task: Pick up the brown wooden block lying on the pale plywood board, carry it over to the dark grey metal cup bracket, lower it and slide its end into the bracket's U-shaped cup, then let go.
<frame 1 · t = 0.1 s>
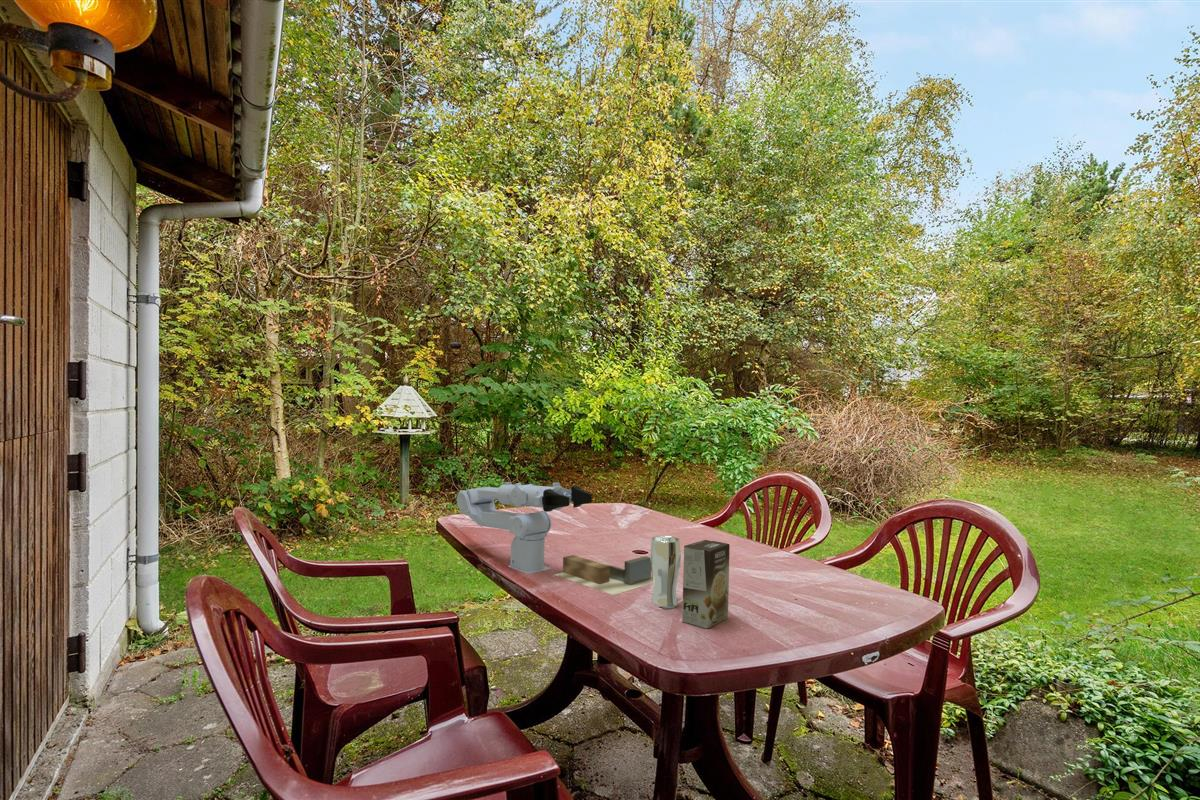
hand: (579, 499, 146), 22 cm above the table, tool horizontal, fingers open, 7 cm apart
coffee box: (705, 620, 124), on the table
board: (607, 579, 152), on the table
brown wooden block: (585, 576, 152), point 1 cm above the table, touching board
bracket: (626, 577, 152), resting on board
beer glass: (664, 605, 134), on the table
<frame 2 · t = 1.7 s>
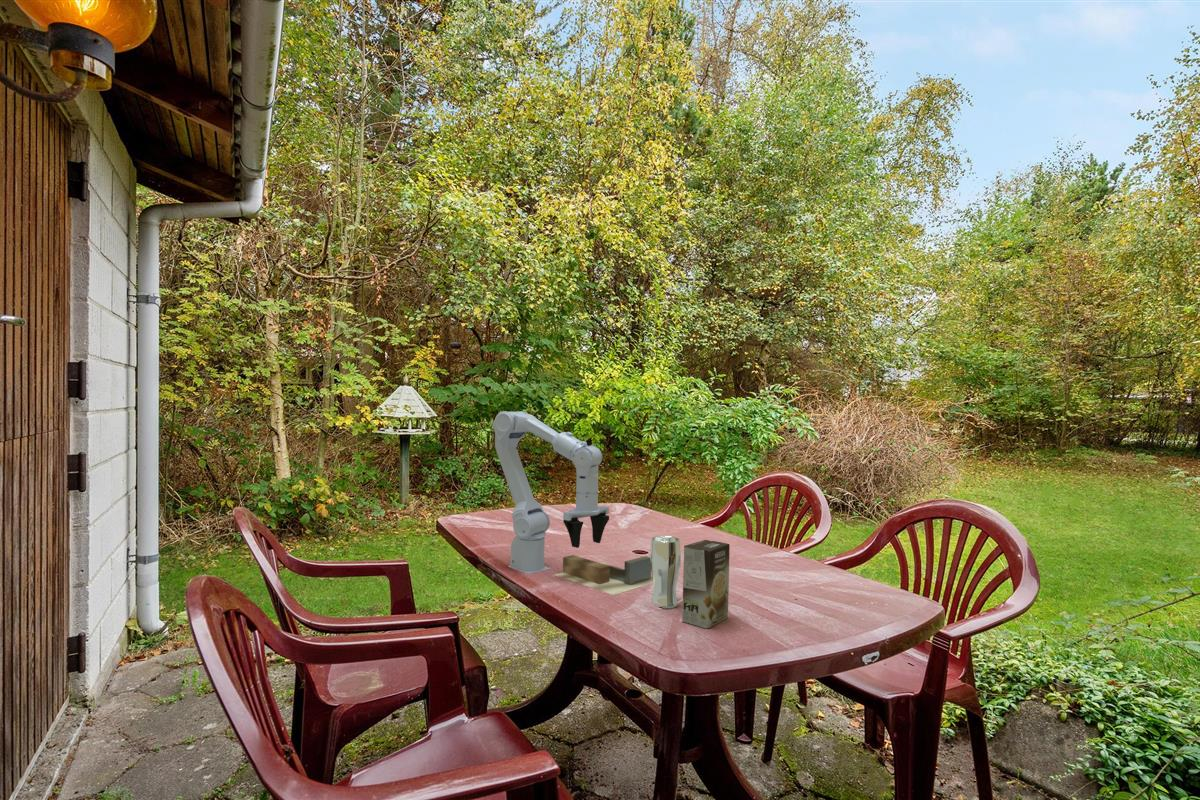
hand: (586, 544, 152), 9 cm above the table, tool pointing down, fingers open, 7 cm apart
nothing on the table moved.
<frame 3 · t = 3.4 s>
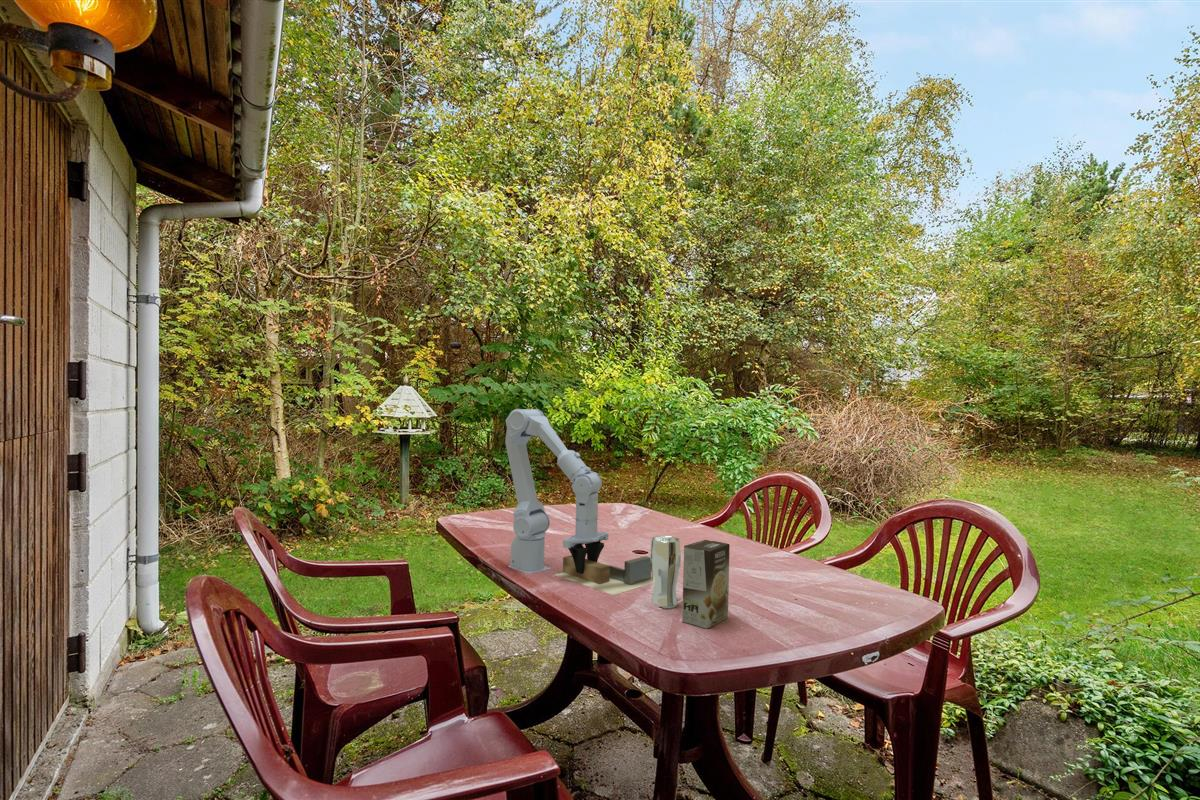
hand: (585, 571, 152), 2 cm above the table, tool pointing down, fingers closed on brown wooden block, 3 cm apart
brown wooden block: (585, 576, 152), point 1 cm above the table, touching board, gripper
everything else where it was.
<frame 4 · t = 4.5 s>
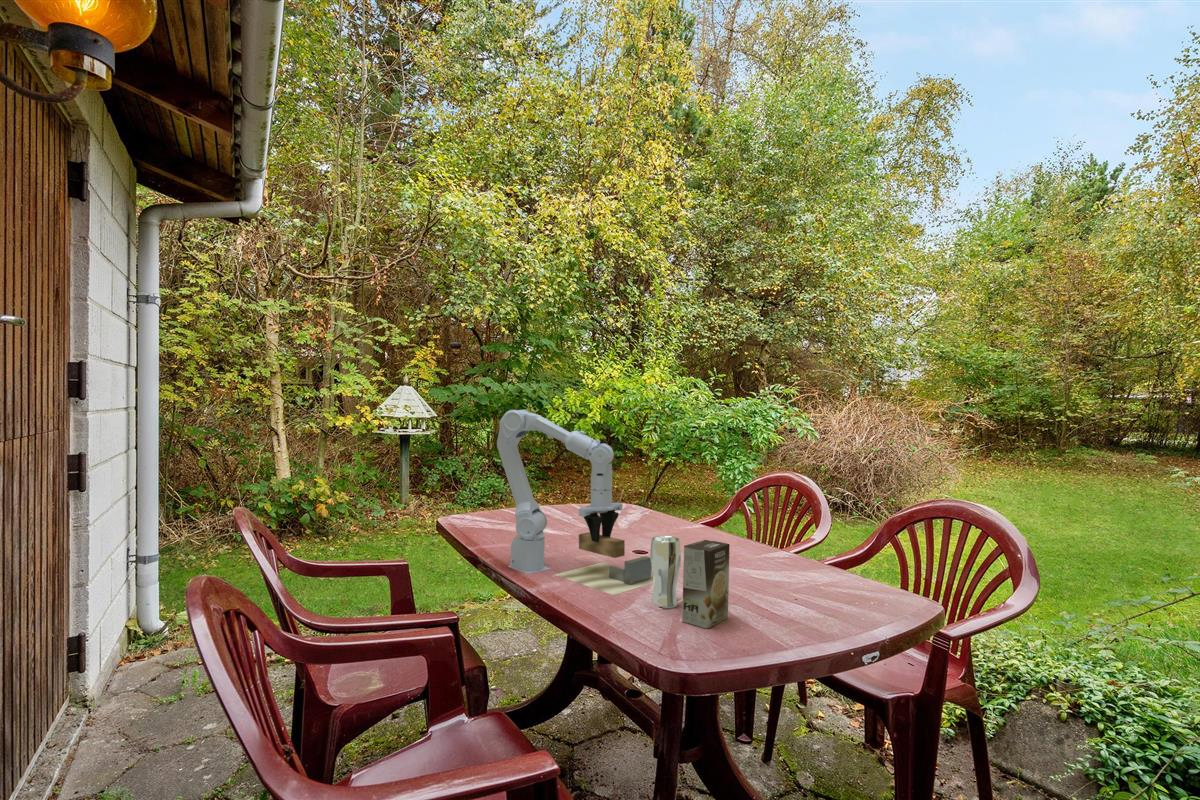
hand: (600, 540, 156), 9 cm above the table, tool pointing down, fingers closed on brown wooden block, 3 cm apart
brown wooden block: (601, 552, 156), point 6 cm above the table, touching gripper
everything else where it was.
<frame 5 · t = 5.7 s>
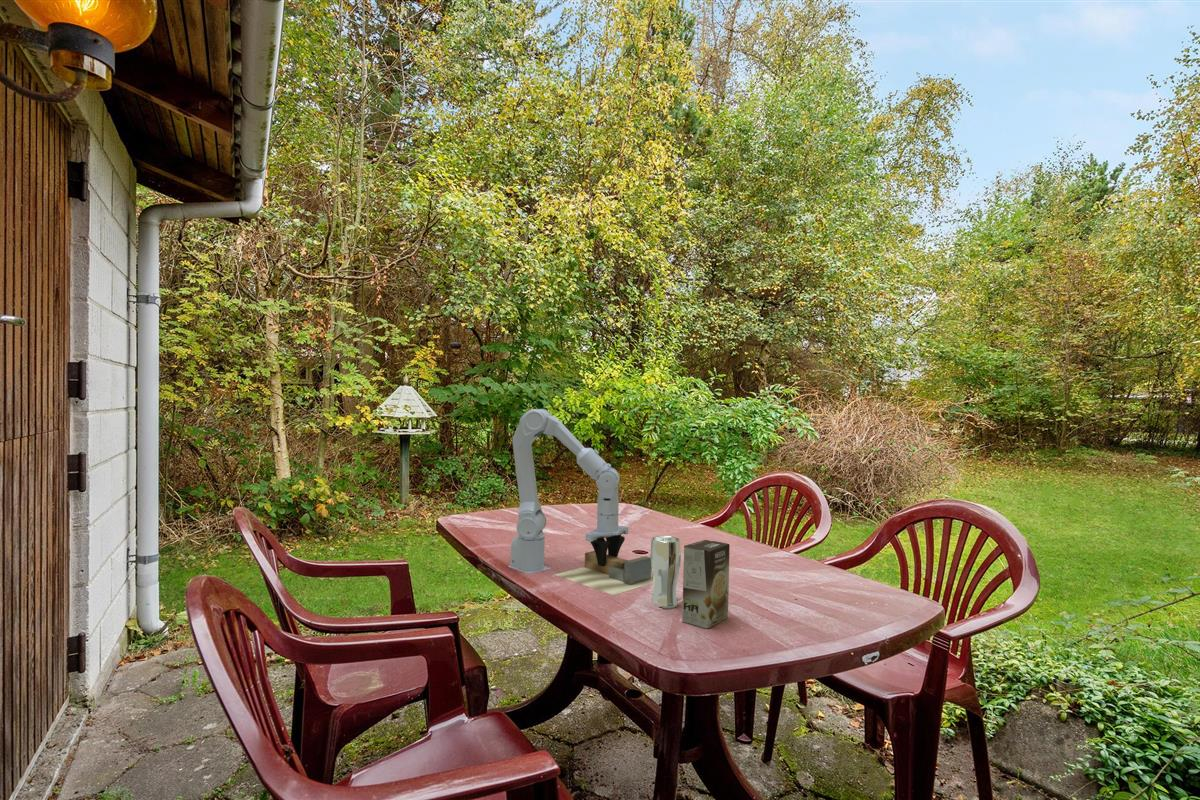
hand: (606, 564, 157), 3 cm above the table, tool pointing down, fingers closed on brown wooden block, 3 cm apart
brown wooden block: (607, 571, 157), point 1 cm above the table, touching gripper
everything else where it was.
when the fingers open (3 cm above the table, at t = 7.1 s): brown wooden block stays where it is, resting on board.
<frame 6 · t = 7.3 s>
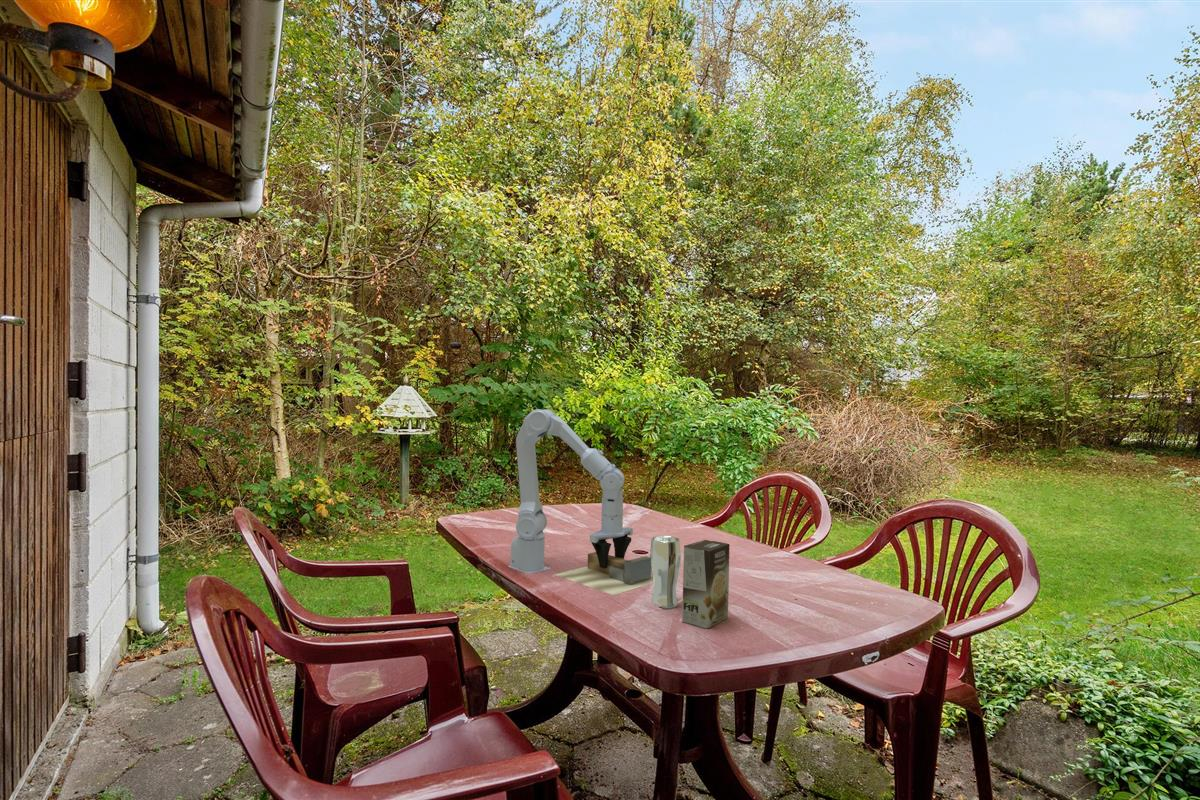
hand: (611, 565, 156), 3 cm above the table, tool pointing down, fingers open, 5 cm apart
brown wooden block: (610, 572, 156), point 1 cm above the table, touching board
everything else where it was.
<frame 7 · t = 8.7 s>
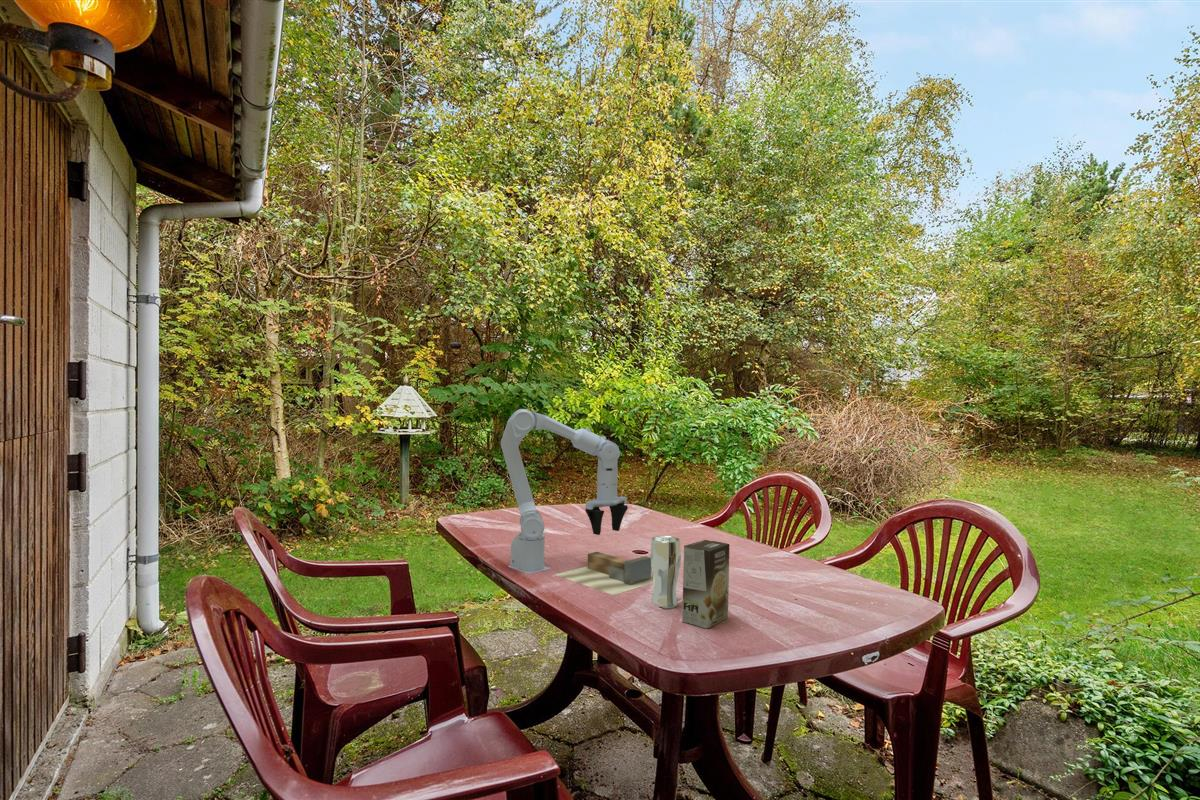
hand: (606, 532, 163), 10 cm above the table, tool pointing down, fingers open, 7 cm apart
nothing on the table moved.
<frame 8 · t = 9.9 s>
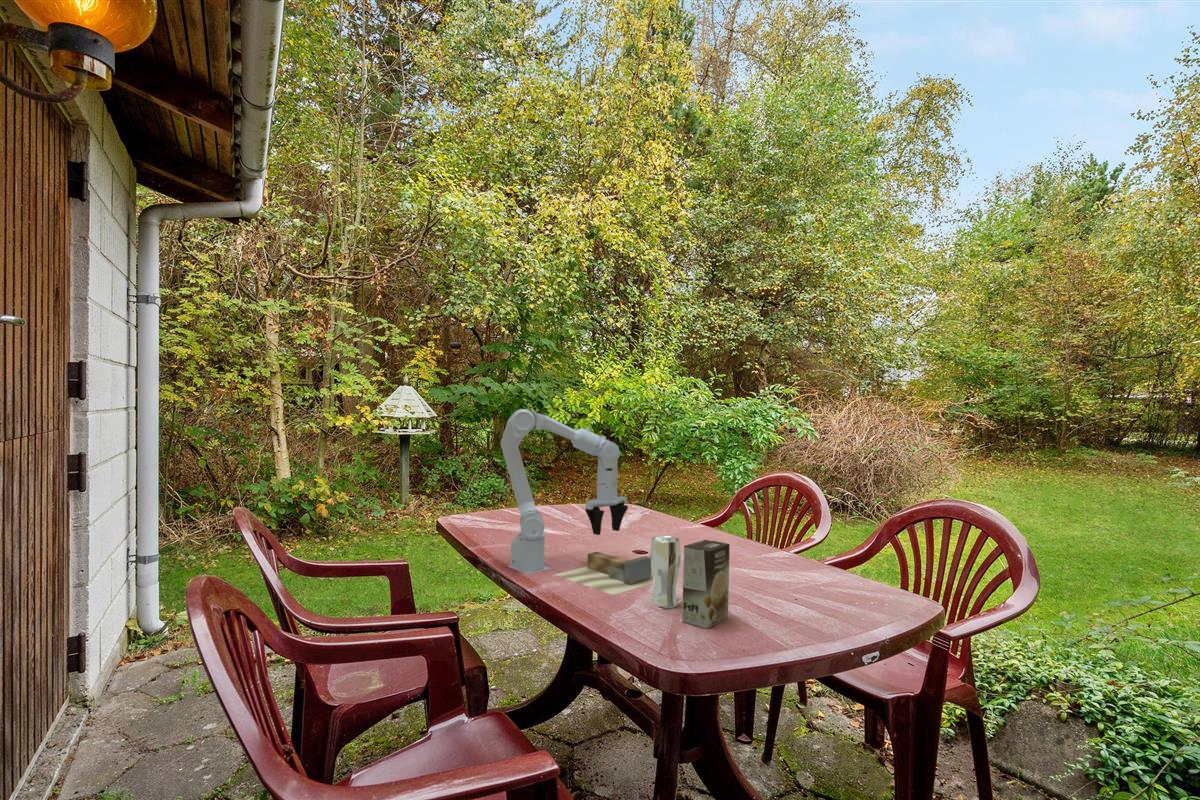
hand: (606, 532, 163), 10 cm above the table, tool pointing down, fingers open, 7 cm apart
nothing on the table moved.
at the end: brown wooden block 0.2 cm from the target spot on the bracket, point 0.0 cm above the bracket's base; brown wooden block tilted 0°; the gripper is holding nothing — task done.
